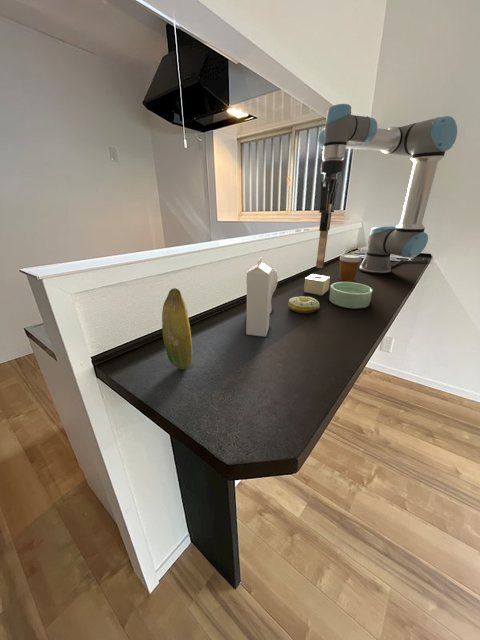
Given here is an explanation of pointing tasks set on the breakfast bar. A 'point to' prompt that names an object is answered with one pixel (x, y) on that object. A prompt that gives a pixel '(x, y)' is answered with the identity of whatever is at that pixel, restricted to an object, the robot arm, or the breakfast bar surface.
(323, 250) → the stirring stick
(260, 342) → the breakfast bar surface
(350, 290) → the bowl
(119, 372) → the breakfast bar surface
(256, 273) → the milk
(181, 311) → the vegetable
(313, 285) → the stand
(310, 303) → the decorated donut
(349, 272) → the disposable coffee cup
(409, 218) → the robot arm
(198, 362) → the breakfast bar surface
